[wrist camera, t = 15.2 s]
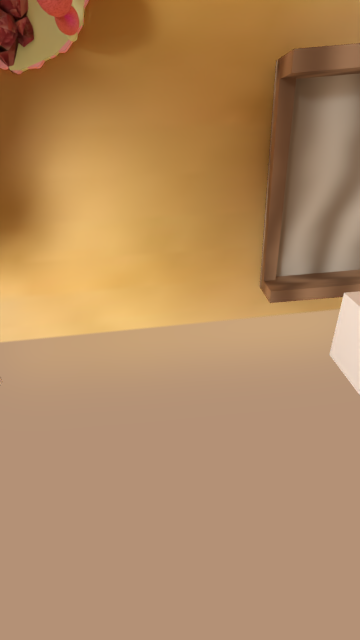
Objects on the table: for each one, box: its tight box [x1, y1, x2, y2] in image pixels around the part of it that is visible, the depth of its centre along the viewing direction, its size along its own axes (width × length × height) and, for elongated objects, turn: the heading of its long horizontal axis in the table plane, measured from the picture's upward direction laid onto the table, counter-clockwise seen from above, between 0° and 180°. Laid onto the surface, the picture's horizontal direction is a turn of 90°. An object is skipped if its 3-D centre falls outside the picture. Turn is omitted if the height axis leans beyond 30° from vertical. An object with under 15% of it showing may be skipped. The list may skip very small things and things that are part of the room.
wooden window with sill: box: [260, 43, 360, 303], centre depth 32 cm, size 17×23×4 cm
